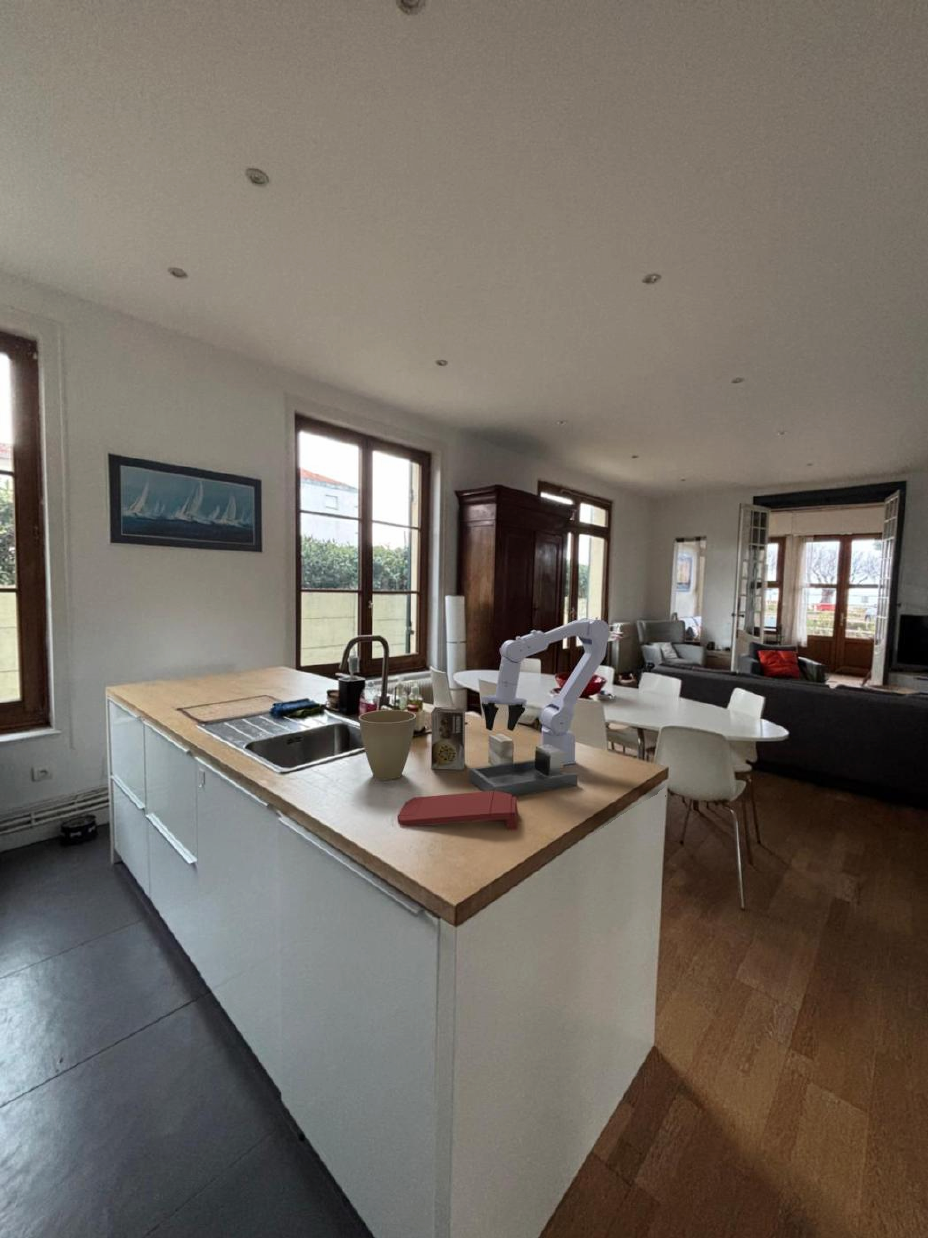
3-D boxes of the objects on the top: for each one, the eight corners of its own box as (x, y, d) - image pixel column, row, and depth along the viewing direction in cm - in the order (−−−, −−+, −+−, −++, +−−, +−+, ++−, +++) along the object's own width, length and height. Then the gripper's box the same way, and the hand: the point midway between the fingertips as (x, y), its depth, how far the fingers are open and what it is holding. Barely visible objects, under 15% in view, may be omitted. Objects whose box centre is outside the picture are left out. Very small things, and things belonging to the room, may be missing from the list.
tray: (546, 768, 141) (547, 740, 141) (577, 785, 128) (578, 754, 128) (469, 779, 131) (469, 749, 131) (494, 799, 118) (494, 766, 118)
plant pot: (404, 763, 143) (405, 707, 143) (423, 780, 130) (424, 719, 129) (352, 770, 137) (352, 712, 136) (366, 789, 123) (366, 725, 123)
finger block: (502, 760, 147) (502, 733, 147) (514, 768, 141) (515, 740, 140) (488, 762, 145) (488, 735, 145) (499, 770, 139) (500, 741, 139)
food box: (465, 763, 144) (466, 707, 144) (463, 770, 138) (464, 712, 137) (433, 761, 145) (434, 706, 145) (430, 769, 139) (431, 711, 138)
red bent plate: (397, 844, 105) (517, 835, 101) (394, 820, 104) (513, 811, 101) (411, 818, 117) (518, 810, 113) (408, 797, 116) (515, 788, 113)
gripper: (518, 681, 149) (511, 726, 149) (478, 677, 142) (470, 725, 142) (534, 686, 143) (526, 733, 143) (493, 682, 136) (485, 732, 136)
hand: (499, 729), depth 142 cm, fingers open, 7 cm apart
